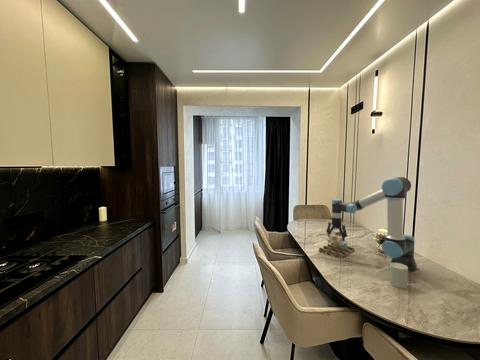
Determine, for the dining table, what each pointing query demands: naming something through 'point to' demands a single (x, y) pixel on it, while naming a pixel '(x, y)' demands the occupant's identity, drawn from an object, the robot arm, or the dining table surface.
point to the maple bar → (335, 239)
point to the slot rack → (336, 250)
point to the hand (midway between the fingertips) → (336, 242)
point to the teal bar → (342, 245)
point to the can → (399, 275)
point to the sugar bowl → (336, 232)
